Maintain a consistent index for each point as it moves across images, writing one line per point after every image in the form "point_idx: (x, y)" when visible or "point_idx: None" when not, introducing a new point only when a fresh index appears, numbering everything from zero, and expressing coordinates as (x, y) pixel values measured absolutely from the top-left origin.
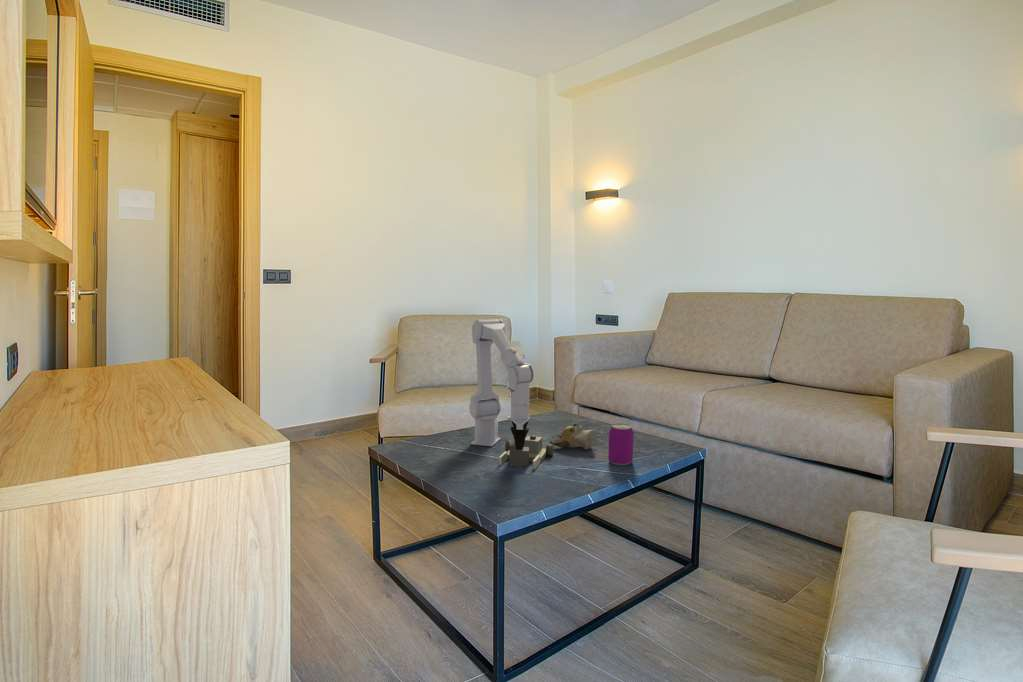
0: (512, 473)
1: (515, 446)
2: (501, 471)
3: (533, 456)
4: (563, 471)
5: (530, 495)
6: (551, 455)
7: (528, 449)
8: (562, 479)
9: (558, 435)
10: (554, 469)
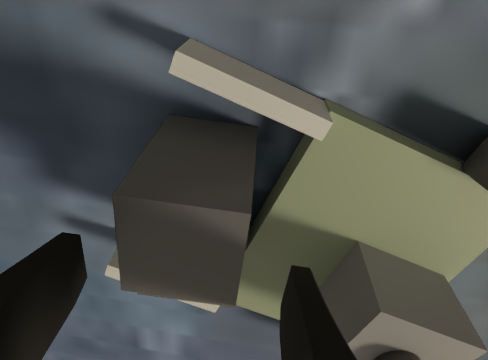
0: (30, 117)
1: (41, 247)
2: (52, 45)
3: (251, 274)
4: (108, 331)
5: None
6: None
7: (173, 297)
8: None
9: None
10: (129, 309)
